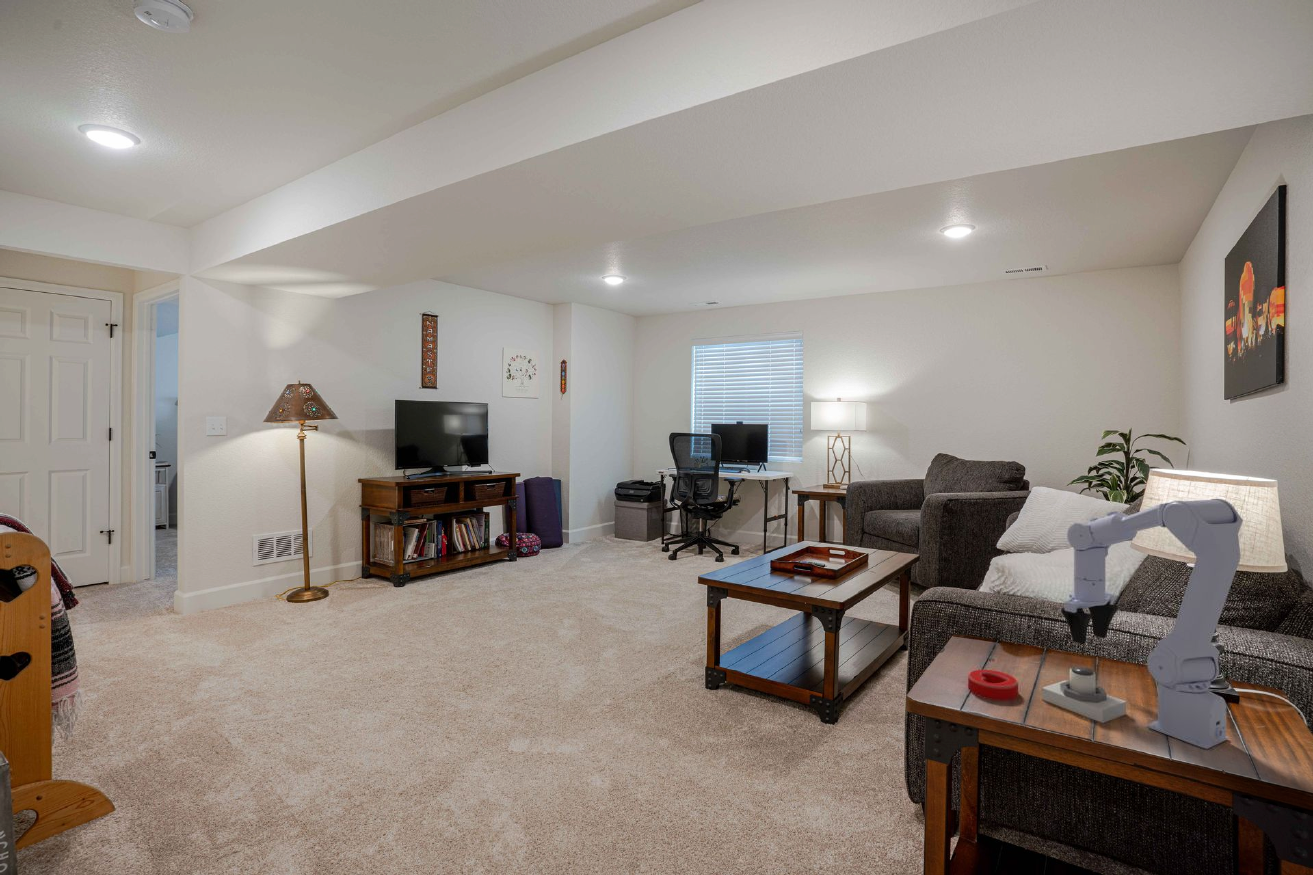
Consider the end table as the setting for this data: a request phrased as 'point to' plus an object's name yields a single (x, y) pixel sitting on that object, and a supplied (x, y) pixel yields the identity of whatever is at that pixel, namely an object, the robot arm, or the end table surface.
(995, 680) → the decorative ornament
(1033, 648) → the end table surface
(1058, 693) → the plate with octagonal ring
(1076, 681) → the lens
